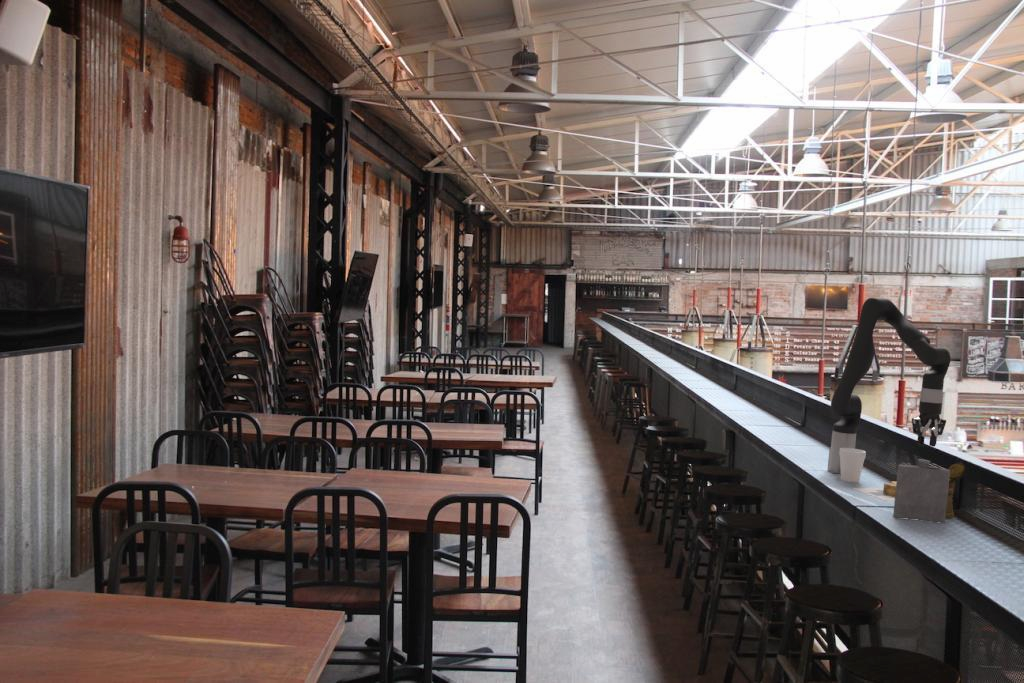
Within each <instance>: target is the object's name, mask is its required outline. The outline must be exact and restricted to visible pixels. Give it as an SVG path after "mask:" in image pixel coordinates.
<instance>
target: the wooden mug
mask: <svg viewBox="0 0 1024 683" xmlns="http://www.w3.org/2000/svg"><path fill="white" fill-rule="evenodd" d="M947 469H948V470H950V479H949V488H948V498H947V507H946V517H945V519H953V518H954V517H955V513H954V510H953V509H954V508H953V506H954V505H953V495H954V493H955V492H954V491H955V481H956V480H959V479H961V478H962V477H963V476H964V475H965V472H966V466H965V464H964V463H963V462H956V463H954V464H952V465H950V466H949V467H948V468H947Z"/></svg>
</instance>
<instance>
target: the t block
mask: <svg viewBox="0 0 1024 683" xmlns="http://www.w3.org/2000/svg"><path fill="white" fill-rule="evenodd" d="M896 483H897V480H896V481H894V480H893V481H890V483H889V482H887V483H885V482H884V483H883V488H884V489H883V493H885V494H888V495H891V496H895V493H896Z"/></svg>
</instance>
